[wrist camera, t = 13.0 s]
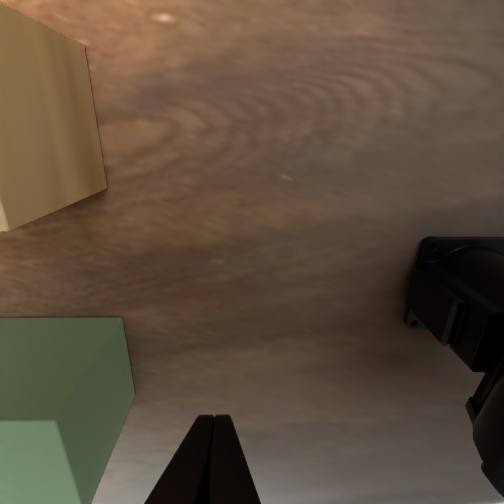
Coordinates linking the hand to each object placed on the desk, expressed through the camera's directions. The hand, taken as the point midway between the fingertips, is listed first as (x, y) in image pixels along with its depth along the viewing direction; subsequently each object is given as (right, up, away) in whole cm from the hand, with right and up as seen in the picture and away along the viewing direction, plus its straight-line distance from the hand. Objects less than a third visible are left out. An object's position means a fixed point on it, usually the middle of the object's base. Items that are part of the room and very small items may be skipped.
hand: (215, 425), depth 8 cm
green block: (-13, -3, +14) cm, 19 cm away
